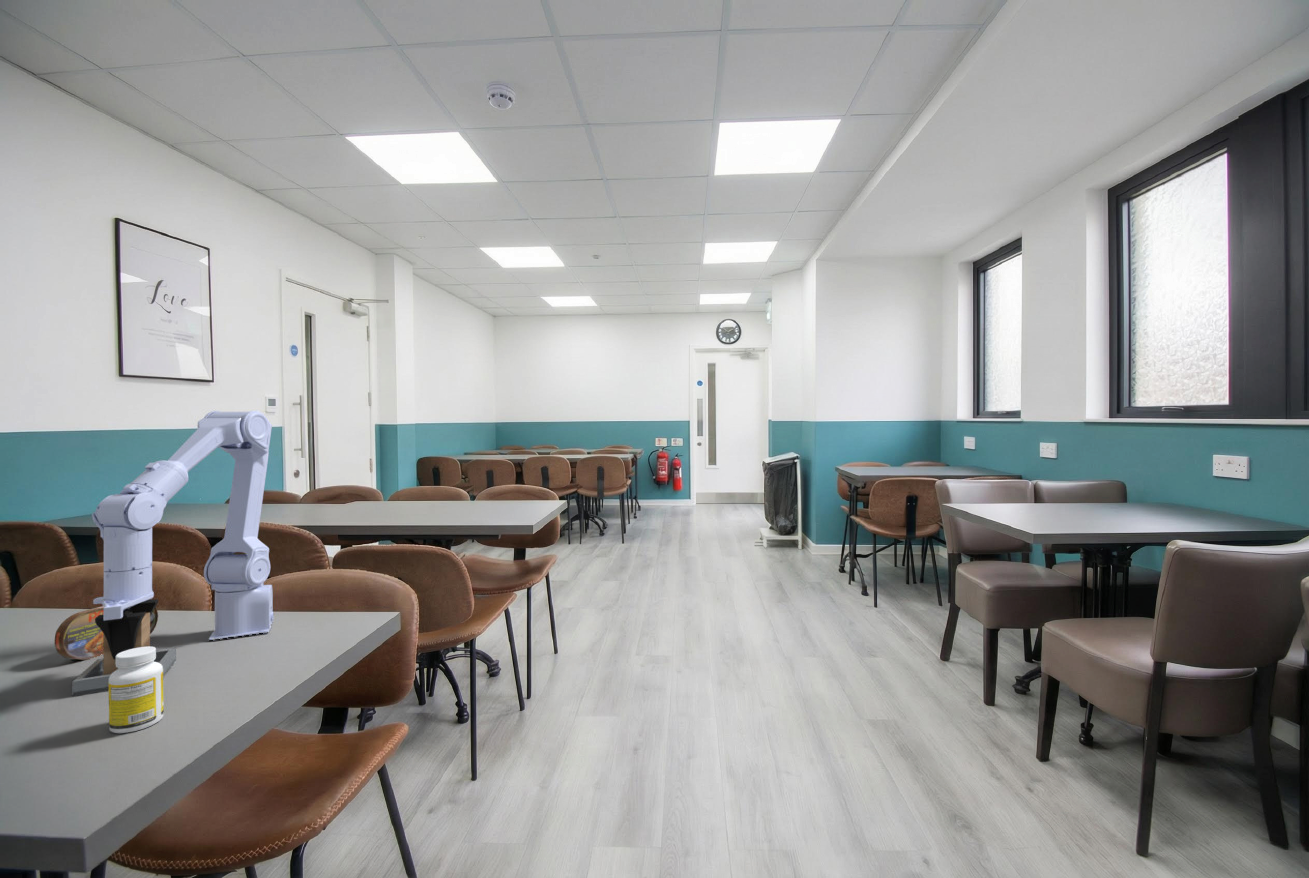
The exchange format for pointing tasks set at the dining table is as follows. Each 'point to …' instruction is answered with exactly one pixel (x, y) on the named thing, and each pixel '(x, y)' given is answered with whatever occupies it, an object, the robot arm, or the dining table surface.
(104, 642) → the block
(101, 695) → the dining table surface
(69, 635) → the tin
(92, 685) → the tray
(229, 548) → the robot arm
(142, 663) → the supplement bottle
